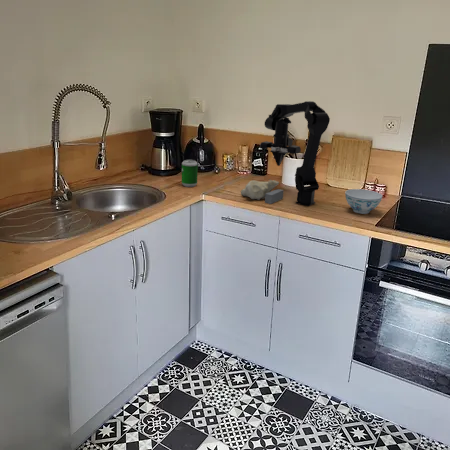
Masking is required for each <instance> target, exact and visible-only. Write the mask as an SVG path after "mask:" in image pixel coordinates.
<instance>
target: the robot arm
mask: <svg viewBox="0 0 450 450" xmlns="http://www.w3.org/2000/svg"><path fill="white" fill-rule="evenodd" d="M271 112H272V113H271V114H268V117H267V118H266V119H265V120H264V127H265V128H266V129H267V130H271V131H274V134H273V136H272V137H273V138H274V140H273V141H274V143H273V141H267V140H266V141H262V142H261V143H260V144H259V149H262V150H266V149H267V148H269V149H270V153H272V155H273V157H274V161H275V163H276V166H277V167H279V166H281V164H282V161H283V159H284V157H285V155H287V154H293V155H297V154H300V153H301V151H302V149H301V146H300V145H293V142H294V140H293V139H291V138H290V137H289V136H290V135H289V134H288V131H289V130H288V129H289V124H292V121H291V119H290V117H292V116H294V114H299V113H304V118H305V120H306V122H307V129H308V139H307V143H306V146H305V147H306V148H305V152H304V156H303V160H302V164H301V166H297V167H296V168H295V169H296V170H295V174H294V177H295V178H294V181H295V182H294V183H295V189H296V190H297V191H298V192H297V196H296V201H295V204H299V205H303V206H307V207H310V206H312V205H314V204H316V202H315V193H316V191H319V188H320V185H319V183H318V180H317V178H316V175H317V172H316V170H315V164H316V160H317V155H318V151H319V147H320V143H321V139H322V135H324V133H325V132H326V131H327V129H328V127H329V124H330V119H331V118H330V116H329V114H328V113H327V112H326V111H325V110H324V108H322V107H320V106H319V105H318V104H317V103H316V102H315V101H311V100H310V101H308V100H307V101H304V102H297V103H292V104H287V103H285V104H284V103H283V104H279V103H278V104H275V107H274V109H273V110H272V111H271Z"/></svg>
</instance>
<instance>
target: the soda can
mask: <svg viewBox="0 0 450 450" xmlns="http://www.w3.org/2000/svg"><path fill="white" fill-rule="evenodd" d="M198 166H199V165H198V162H197V161H196V160H195V159H184V160H183V161H182V162H181V184H182V185H183V186H184V187H186V188H193V187H196V186H197V185H198V170H199V169H198Z"/></svg>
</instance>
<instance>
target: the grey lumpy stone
mask: <svg viewBox="0 0 450 450" xmlns="http://www.w3.org/2000/svg"><path fill="white" fill-rule="evenodd" d="M278 185H280V182H279V181H278V180H275V179H274V180H272V179H268V181H259V180H254V179H252V180H250V181H248V182H247V183H246V185H245V188H242V190H240V195H241V196H243V197H249V198H250V199H251V200H257V201H260V200H263V199H264V200H265V194H266V193H269V192H271V191H273V189H275V188H276V187H277V186H278Z"/></svg>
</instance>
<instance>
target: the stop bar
mask: <svg viewBox="0 0 450 450" xmlns="http://www.w3.org/2000/svg"><path fill="white" fill-rule="evenodd" d="M283 199H284V189H280V188H277V189H274V190H271V191H270V192H269V193H266V194H265V198H264V203H265V204H269V205H272V204H275V203H276V202H278V201H281V200H283Z"/></svg>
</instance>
